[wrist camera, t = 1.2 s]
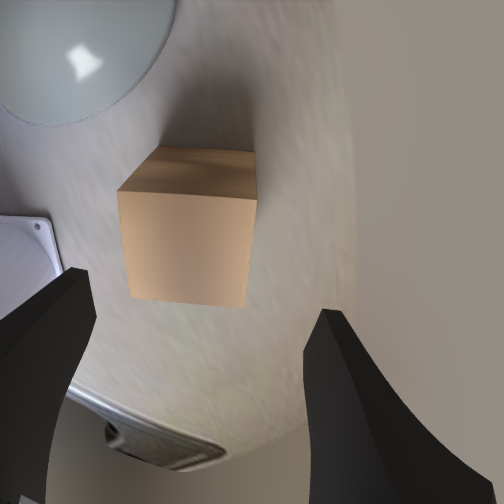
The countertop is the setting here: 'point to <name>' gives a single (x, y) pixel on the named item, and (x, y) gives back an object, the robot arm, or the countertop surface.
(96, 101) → the slate dish
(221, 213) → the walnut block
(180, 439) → the countertop surface
